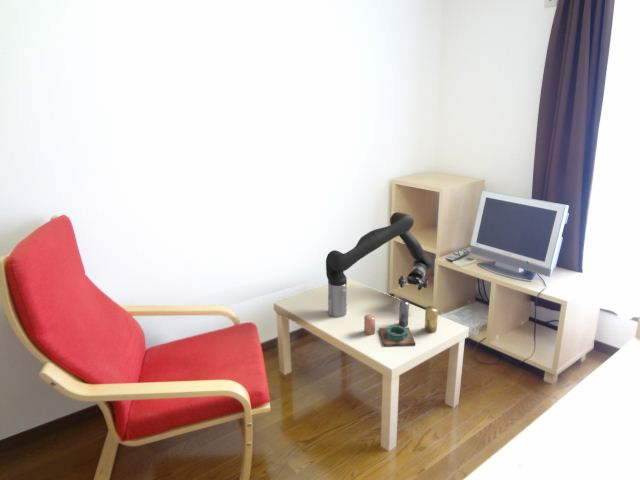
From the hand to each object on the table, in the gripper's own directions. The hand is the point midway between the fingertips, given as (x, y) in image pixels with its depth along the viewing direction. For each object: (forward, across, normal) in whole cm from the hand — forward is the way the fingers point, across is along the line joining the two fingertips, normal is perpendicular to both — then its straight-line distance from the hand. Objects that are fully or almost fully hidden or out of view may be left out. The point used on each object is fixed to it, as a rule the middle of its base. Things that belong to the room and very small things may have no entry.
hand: (410, 287), depth 223 cm
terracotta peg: (+25, -13, +15) cm, 32 cm away
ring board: (+25, 0, +15) cm, 29 cm away
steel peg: (+12, 0, +15) cm, 19 cm away
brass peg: (+12, +13, +15) cm, 23 cm away
